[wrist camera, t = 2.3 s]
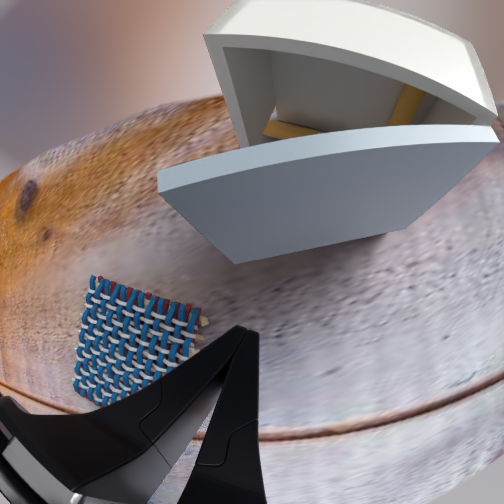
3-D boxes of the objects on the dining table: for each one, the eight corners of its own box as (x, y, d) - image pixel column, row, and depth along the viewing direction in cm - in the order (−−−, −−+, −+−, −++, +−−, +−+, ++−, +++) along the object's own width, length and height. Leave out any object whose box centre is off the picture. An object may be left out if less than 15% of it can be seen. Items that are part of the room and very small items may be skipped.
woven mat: (81, 389, 18) (66, 393, 16) (100, 275, 20) (85, 271, 18) (186, 441, 16) (176, 452, 14) (215, 310, 18) (206, 309, 16)
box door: (405, 228, 14) (499, 142, 5) (234, 264, 15) (157, 193, 6) (402, 218, 14) (490, 126, 5) (232, 253, 15) (157, 171, 6)
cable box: (387, 231, 17) (498, 115, 5) (252, 189, 19) (201, 34, 7) (397, 173, 18) (471, 43, 6) (273, 136, 20) (251, -14, 8)
